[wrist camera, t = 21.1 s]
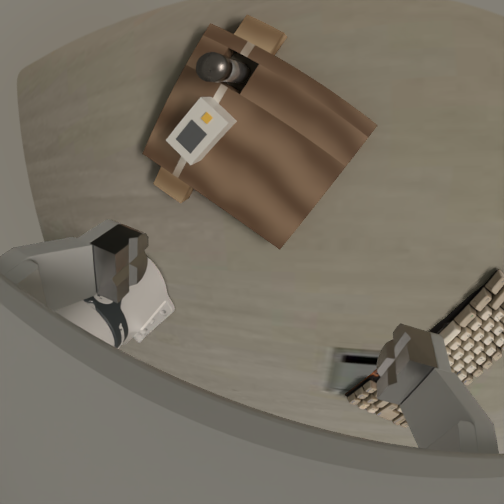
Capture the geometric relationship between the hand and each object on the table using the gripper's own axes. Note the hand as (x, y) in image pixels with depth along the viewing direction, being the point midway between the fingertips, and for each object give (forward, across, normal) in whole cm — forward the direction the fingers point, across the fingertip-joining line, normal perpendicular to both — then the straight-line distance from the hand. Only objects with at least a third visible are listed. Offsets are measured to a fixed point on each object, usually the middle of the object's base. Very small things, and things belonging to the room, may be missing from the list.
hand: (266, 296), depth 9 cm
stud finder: (+29, +15, +2) cm, 32 cm away
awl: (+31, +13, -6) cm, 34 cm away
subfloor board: (+31, +9, +1) cm, 32 cm away
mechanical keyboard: (+32, -32, +26) cm, 52 cm away
